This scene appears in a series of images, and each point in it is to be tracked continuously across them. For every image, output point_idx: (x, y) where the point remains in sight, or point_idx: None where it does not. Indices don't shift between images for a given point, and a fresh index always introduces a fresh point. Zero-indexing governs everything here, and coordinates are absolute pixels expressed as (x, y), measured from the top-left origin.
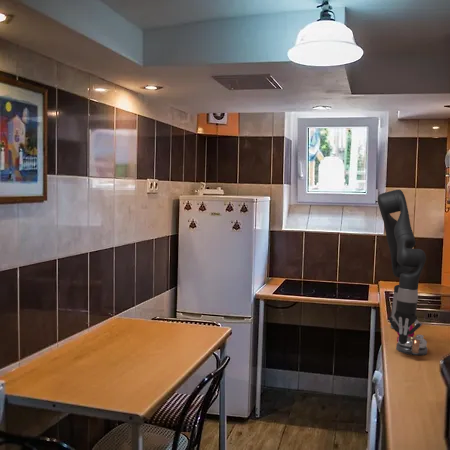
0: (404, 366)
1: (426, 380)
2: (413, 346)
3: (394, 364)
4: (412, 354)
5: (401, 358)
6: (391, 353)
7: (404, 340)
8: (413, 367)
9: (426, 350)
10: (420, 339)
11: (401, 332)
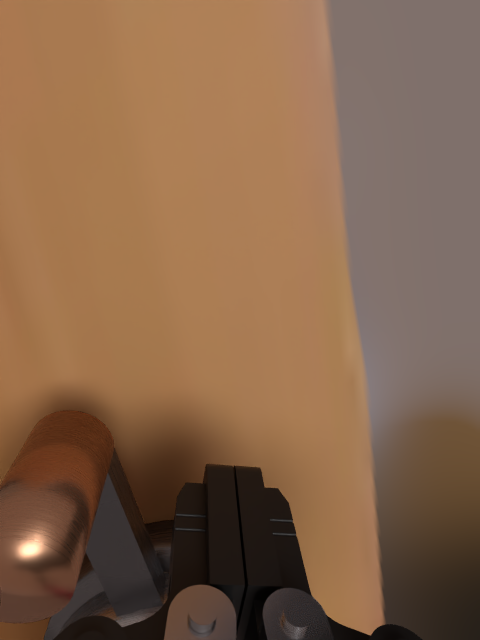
0: (127, 96)
1: None
2: (69, 466)
3: (244, 97)
4: (148, 527)
5: (215, 371)
6: (320, 454)
7: (204, 515)
8: (29, 132)
9: (44, 636)
10: None
11: (282, 629)
